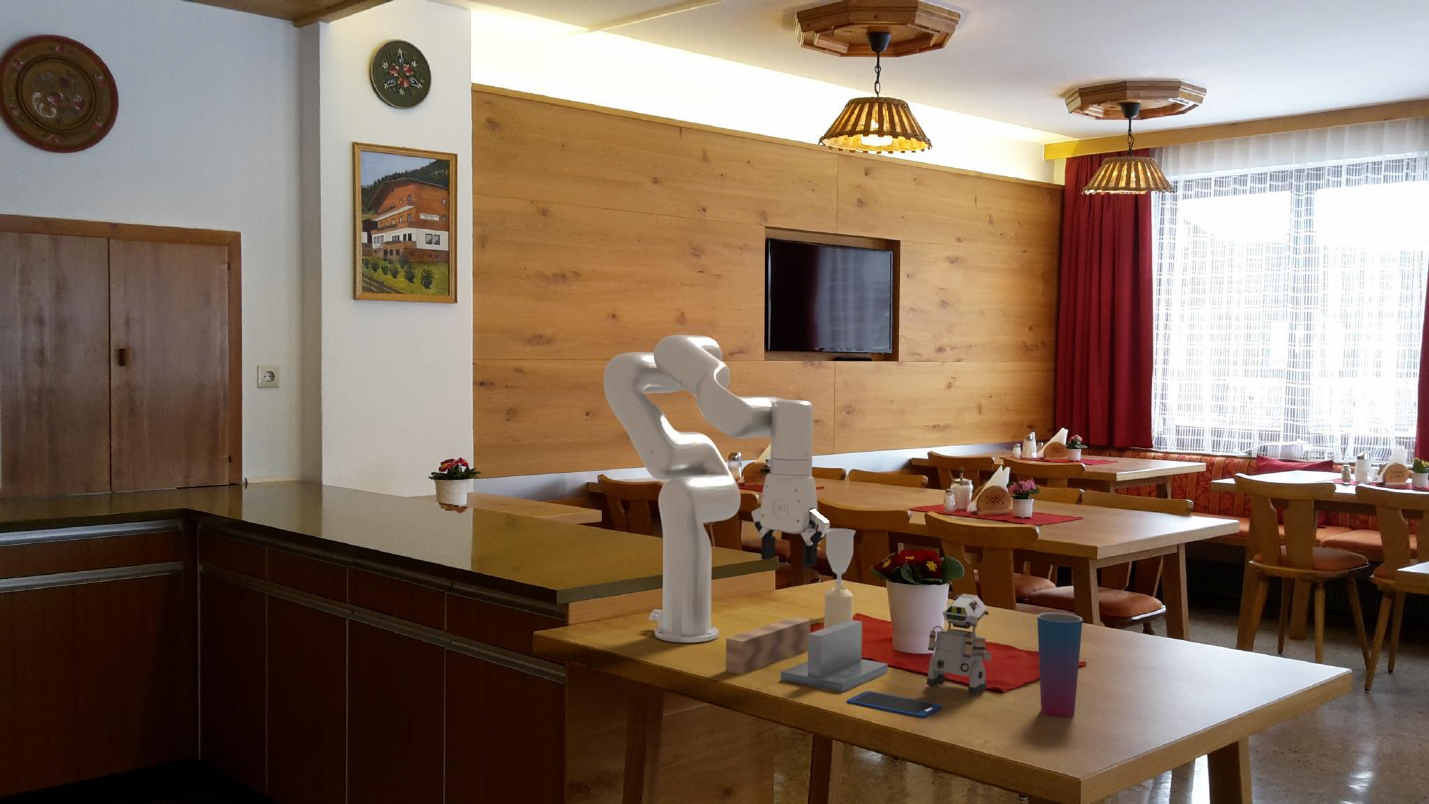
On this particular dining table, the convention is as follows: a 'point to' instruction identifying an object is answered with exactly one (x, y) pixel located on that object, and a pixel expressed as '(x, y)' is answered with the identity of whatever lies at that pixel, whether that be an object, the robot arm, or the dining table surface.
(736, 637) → the wooden block
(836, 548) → the chalice
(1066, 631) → the cup
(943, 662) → the figurine
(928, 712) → the cell phone
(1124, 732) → the dining table surface
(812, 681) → the ridge stand
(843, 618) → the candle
